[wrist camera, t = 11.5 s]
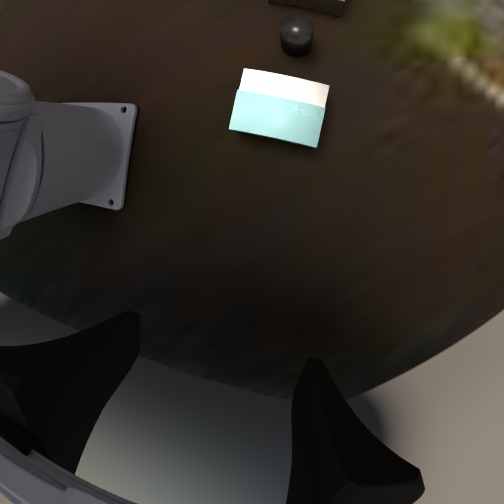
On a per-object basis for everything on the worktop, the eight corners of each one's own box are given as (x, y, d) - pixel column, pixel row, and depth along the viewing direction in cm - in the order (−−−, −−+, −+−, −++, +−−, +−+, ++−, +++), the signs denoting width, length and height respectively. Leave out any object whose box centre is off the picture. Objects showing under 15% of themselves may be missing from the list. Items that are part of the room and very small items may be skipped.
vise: (237, 132, 19) (228, 128, 16) (278, -34, 14) (276, -55, 11) (312, 148, 19) (316, 147, 16) (345, -21, 14) (352, -41, 11)
